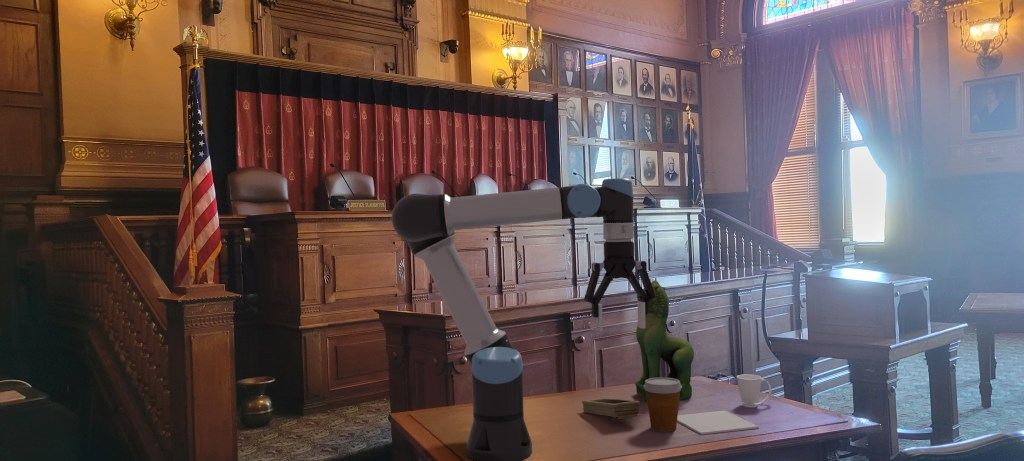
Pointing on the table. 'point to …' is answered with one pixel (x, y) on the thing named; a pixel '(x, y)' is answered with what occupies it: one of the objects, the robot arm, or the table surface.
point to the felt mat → (714, 422)
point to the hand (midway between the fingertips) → (620, 329)
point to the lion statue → (663, 346)
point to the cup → (751, 389)
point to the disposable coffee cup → (663, 403)
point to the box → (612, 407)
